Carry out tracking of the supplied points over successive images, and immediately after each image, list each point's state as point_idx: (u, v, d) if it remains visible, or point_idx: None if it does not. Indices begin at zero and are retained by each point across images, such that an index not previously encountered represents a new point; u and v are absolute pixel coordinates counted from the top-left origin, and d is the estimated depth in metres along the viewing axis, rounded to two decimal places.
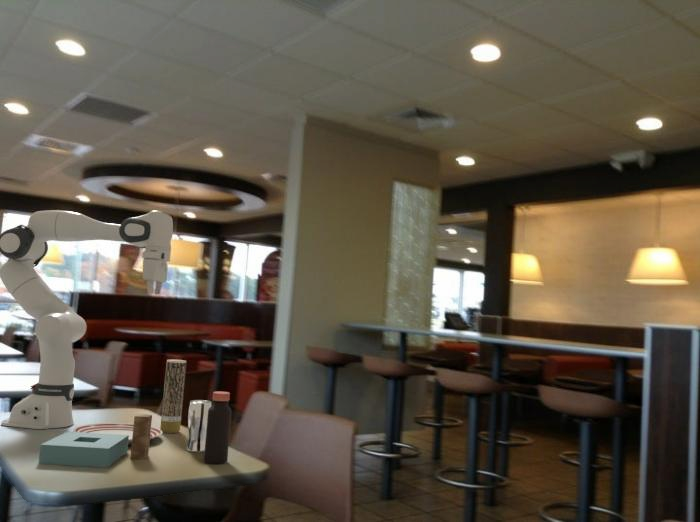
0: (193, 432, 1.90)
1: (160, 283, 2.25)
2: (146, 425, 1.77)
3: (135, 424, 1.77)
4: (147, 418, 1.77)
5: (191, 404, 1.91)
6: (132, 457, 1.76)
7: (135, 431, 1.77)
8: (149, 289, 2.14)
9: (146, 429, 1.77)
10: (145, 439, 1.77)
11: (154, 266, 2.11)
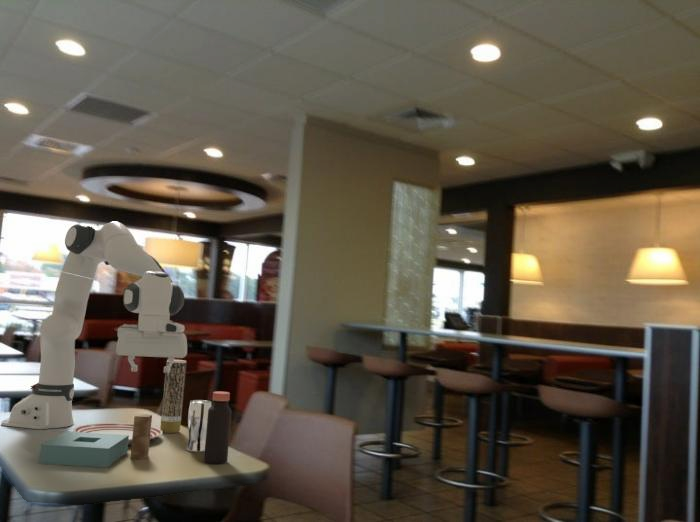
0: (193, 432, 1.90)
1: (134, 357, 1.82)
2: (146, 425, 1.77)
3: (135, 424, 1.77)
4: (147, 418, 1.77)
5: (191, 404, 1.91)
6: (132, 457, 1.76)
7: (135, 431, 1.77)
8: (169, 368, 1.82)
9: (146, 429, 1.77)
10: (145, 439, 1.77)
11: (186, 341, 1.85)
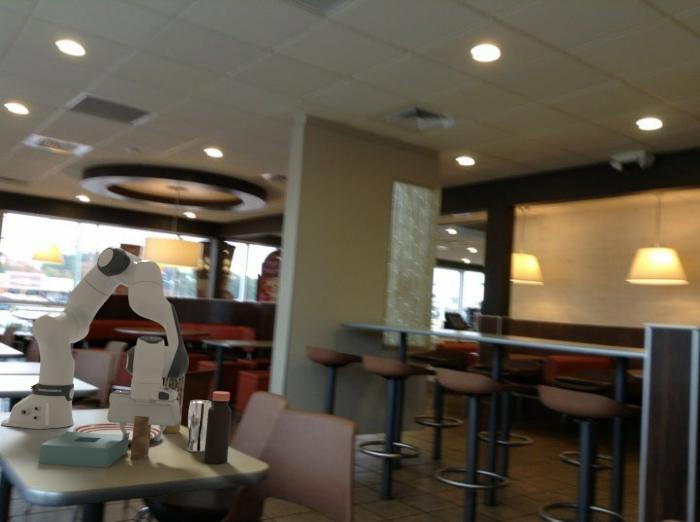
0: (193, 432, 1.90)
1: (126, 424, 1.80)
2: (146, 425, 1.77)
3: (135, 424, 1.77)
4: (147, 418, 1.77)
5: (191, 404, 1.91)
6: (132, 457, 1.76)
7: (135, 431, 1.77)
8: (160, 436, 1.79)
9: (146, 429, 1.77)
10: (145, 439, 1.77)
11: (179, 408, 1.82)
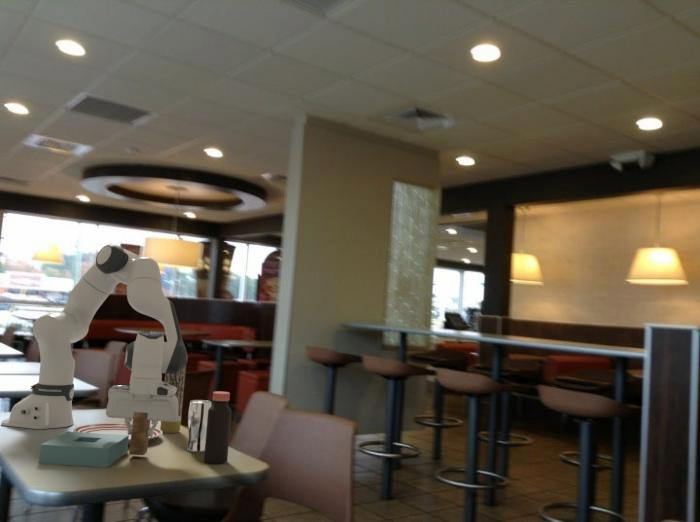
0: (193, 432, 1.90)
1: (131, 419, 1.80)
2: (145, 421, 1.77)
3: (134, 420, 1.77)
4: (146, 414, 1.77)
5: (191, 404, 1.91)
6: (131, 453, 1.76)
7: (134, 427, 1.77)
8: (152, 431, 1.79)
9: (145, 425, 1.77)
10: (144, 435, 1.77)
11: None
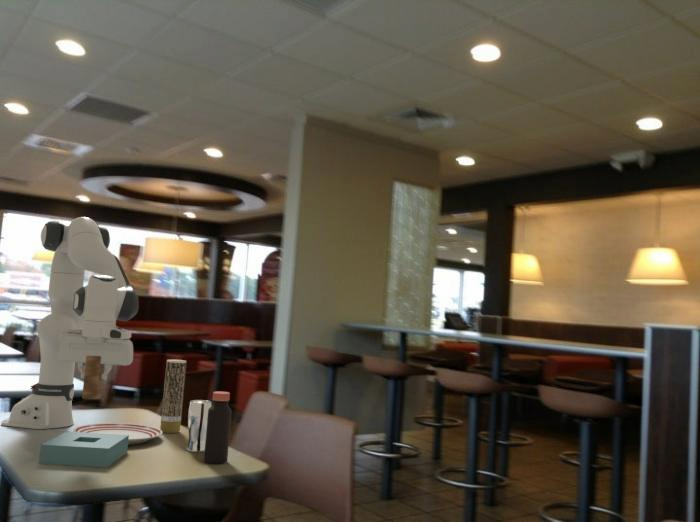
0: (193, 432, 1.90)
1: (84, 364, 1.76)
2: (98, 364, 1.74)
3: (87, 363, 1.74)
4: (99, 357, 1.74)
5: (191, 404, 1.91)
6: (84, 397, 1.73)
7: (87, 370, 1.74)
8: (106, 375, 1.76)
9: (98, 369, 1.74)
10: (97, 379, 1.74)
11: (132, 348, 1.79)
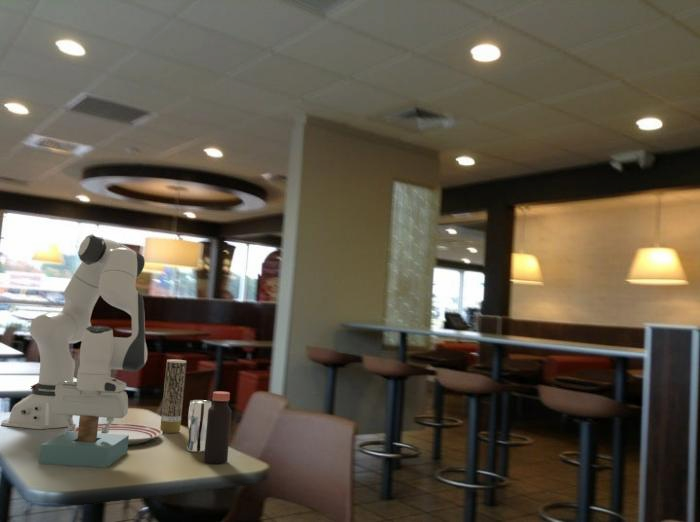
0: (193, 432, 1.90)
1: (71, 416, 1.75)
2: (92, 425, 1.72)
3: (80, 424, 1.72)
4: (93, 417, 1.73)
5: (191, 404, 1.91)
6: None
7: (81, 430, 1.72)
8: (107, 428, 1.74)
9: (92, 429, 1.72)
10: (91, 439, 1.72)
11: (127, 400, 1.77)
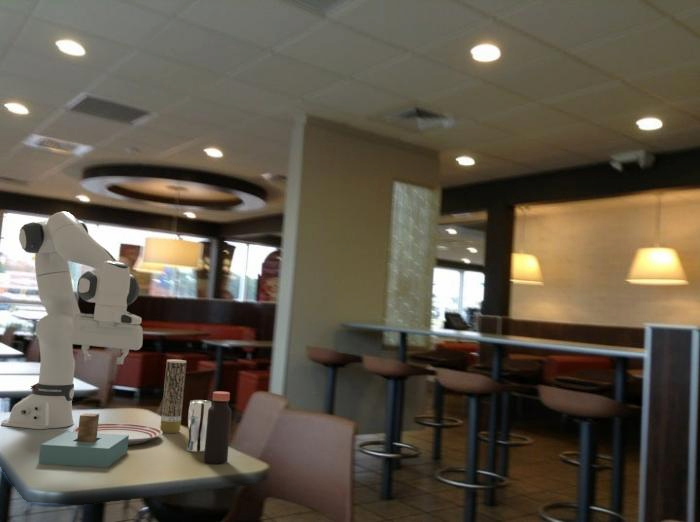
0: (193, 432, 1.90)
1: (88, 346, 1.81)
2: (92, 425, 1.72)
3: (80, 423, 1.72)
4: (93, 417, 1.73)
5: (191, 404, 1.91)
6: None
7: (81, 430, 1.72)
8: (122, 359, 1.80)
9: (92, 429, 1.72)
10: (91, 439, 1.72)
11: (142, 333, 1.83)
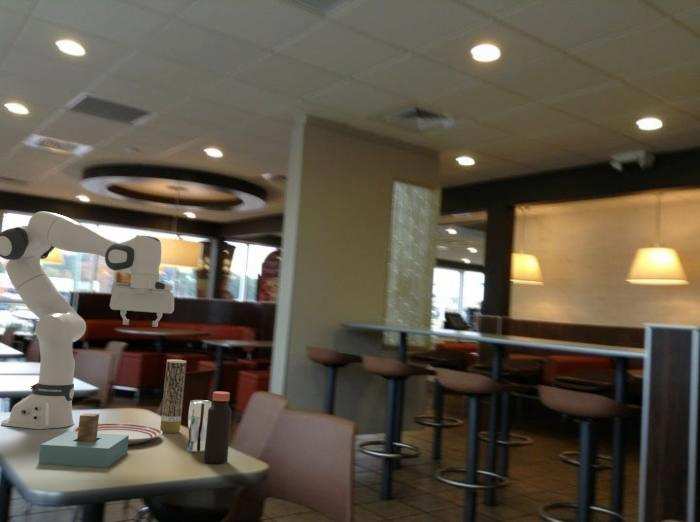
0: (193, 432, 1.90)
1: (126, 312, 2.02)
2: (92, 425, 1.72)
3: (80, 423, 1.72)
4: (93, 417, 1.73)
5: (191, 404, 1.91)
6: None
7: (81, 430, 1.72)
8: (157, 322, 2.01)
9: (92, 429, 1.72)
10: (91, 439, 1.72)
11: (173, 299, 2.04)
